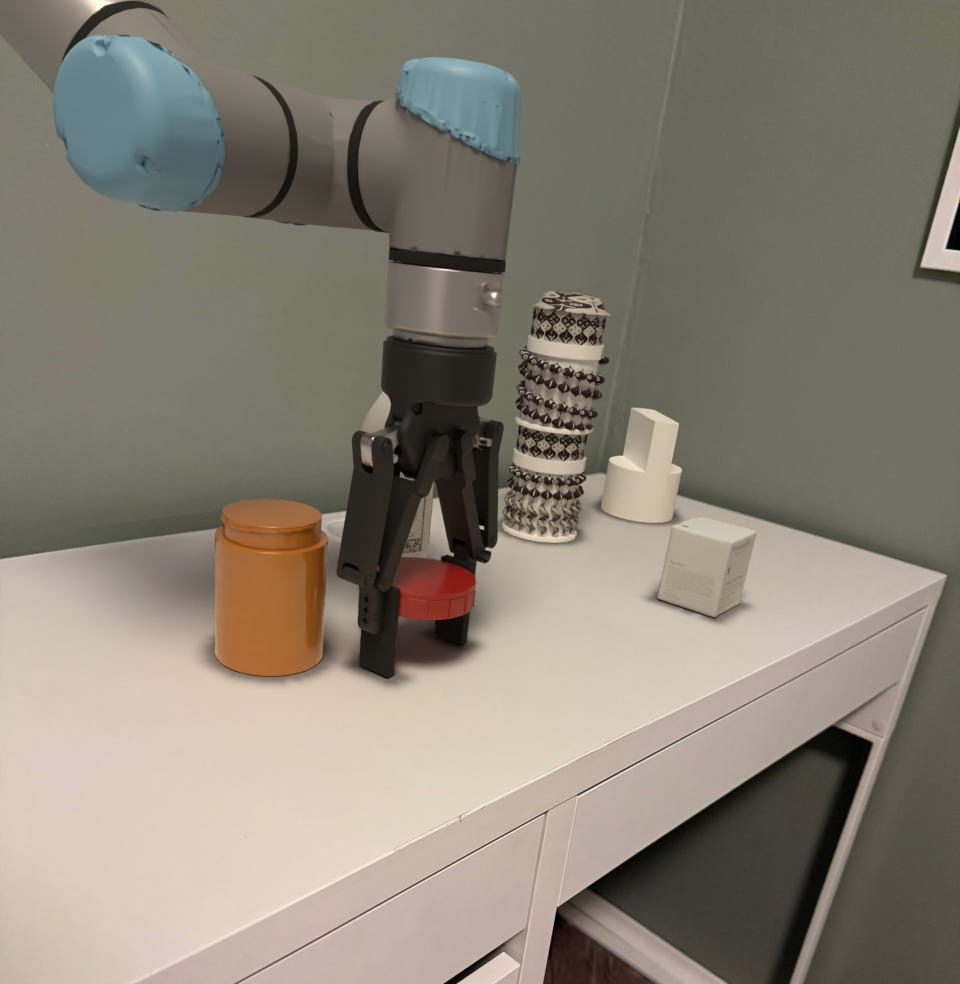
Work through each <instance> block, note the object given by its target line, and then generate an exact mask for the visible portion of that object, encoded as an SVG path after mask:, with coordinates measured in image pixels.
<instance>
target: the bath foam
mask: <svg viewBox="0 0 960 984" xmlns="http://www.w3.org/2000/svg"><path fill="white" fill-rule="evenodd" d="M390 406H391V403H390V399H389V397H388V396H387V395H386V394H385V393H384V392H383V391H382V392H381V394H379V396H378V397H377V399H376V400H375V402H373V404H372V406H371V407H370V409H369V411H368V412H367V414H366V415H365V418H364V420H363V423H362V426H361V430H360V431H364V432H368V433H373V432H376V431H379V430H381V429H384V426H385V422H386V420H387V418H388V415H389V412H390ZM400 477H401V478H405V479H408V480H412V481H413V480H414V479H410V478H407V477H404V475H403V474H402V473H400ZM435 485H436V483H435V481H434V482H433V484H432V487H431V490H430V493H429V495H428V496H426V497H424V498H422V499H421V501H420V504H419V507H418V510H417V513H416V516H415V519H414V521H413V524H412V527H411V530H410V533H409V536H408V539H407V542H406V545H405V548H404V551H403V553H402V556H401V557H418V558H428V552H429V545H430V535H431V524H432V514H433V504H434V494H435Z"/></svg>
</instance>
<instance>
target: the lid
mask: <svg viewBox="0 0 960 984" xmlns="http://www.w3.org/2000/svg"><path fill="white" fill-rule="evenodd" d="M377 570H378V571H379V570H380V568H379V566H377ZM391 586H394V587H397V588H399V589H400V600H399V613H398V618H405V619H410V620H419V621H420V620H421V621H435V620H442V619H450V618H455V617H459V616H462V615H464V614H466V613H468V612H469V611H470V612H471V611H472V609H473V608H475V601H476V593H477V591H476V588H477V587H476V586H477V578H476V575H475V576H474V575H473V574H472V573H471V572H470V571H468V570H466V569H465V568H463V567H460V566H458V565H455V564H452V563H449V562H445V561H441V559H440V560H439V559H436V558H435V559H434V558H430V557H429V558H428V557H427V558H418V557H401V559H400V562H399V565H398V568H397V571H396V574H395V577H394V580H393V583H392V585H391Z"/></svg>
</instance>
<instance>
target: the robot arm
mask: <svg viewBox="0 0 960 984" xmlns="http://www.w3.org/2000/svg"><path fill="white" fill-rule="evenodd" d="M0 37H1V38H3V40H4V41H5V42H6V43H7V44H8V45H9V46H10V48H11V49H12V50H13V51H14V52H15V53H16V54H17V56H18V57H19V58H20V59H21V60H22V61H23V62H24V63H25V64H26V66H27V67H29V69H30V70H31V71H32V72H33V73H34V74H35V75H36V77H38V79H39V80H40V81H41V82H42V83H43V84H44V85H45V86H46V87H47V88H48V90H49V91H50V92H51V93H52V94H53V97H52V98H53V99H52V110H53V112H52V113H53V122H54V127H55V131H56V135H57V138H59V139H60V140H61V141H62V142H63V145H64V148H65V151H66V160H67V162H68V164H69V166H70V168H71V169H72V170H73V172H74V173H75V175H77V177H78V178H79V179H80V180H81V181H82V182H83V183H84V184H85V185H86V186H88V187H89V188H90V189H91V190H92V191H94V192H95V193H97V194H98V195H100V196H102V197H105V198H107V199H110V200H114V201H117V202H123V203H128V204H135V205H137V206H139V207H142V208H144V209H147V210H150V211H156V212H171V213H177V212H186V213H196V214H208V215H220V216H231V217H242V218H247V219H248V218H249V219H258V220H266V221H273V222H275V223H279V224H286V225H288V224H289V225H290V224H291V225H294V226H295V227H296V226H300V227H301V226H310V225H311V226H317V227H318V226H319V227H328V228H338V229H352V230H365V231H374V232H376V233H384V234H388V248H389V249H388V259H387V260H388V261H387V273H386V283H385V284H386V286H385V300H384V315H383V323H384V325H385V326H386V327H387V328H388V329H391V330H392V334H391V335H388V336H386V340H385V339H384V340H383V342H382V357H381V358H382V360H381V375H380V376H381V377H380V388H381V390H382V392H384V393H385V394H386V395H387V396H388V397H389V399H390V403H391V406H390V412H389V415H388V418H387V420H386V422H385V426H384V429H381V430H379V431H376V432H373V433H368V432H364V431H361V430H356V431H355V432H354V433H353V434H352V437H351V451H352V464H353V470H352V474H351V480H350V482H351V483H350V487H349V493H348V499H347V503H346V509H345V510H346V511H345V516H344V523H343V529H342V534H341V541H340V546H339V552H338V558H337V564H336V568H335V569H336V572H335V574H336V577H337V578H338V579H341V580H343V581H345V582H347V583H351V584H354V585H356V586H358V601H357V602H358V604H357V606H358V607H357V608H358V609H357V626H358V629H360V638H359V639H360V641H359V657H358V658H359V659H358V666H360V667H363V668H365V669H367V670H369V671H372V672H374V673H376V674H378V675H381V676H383V677H385V678H389V677H391V676H393V675H395V667H396V654H397V653H396V652H397V641H398V639H397V638H398V626H399V616H398V613H399V600H400V589H399V588H397V587H394V586H391V585H392V583H393V580H394V577H395V574H396V571H397V568H398V565H399V562H400V559H401V556H402V553H403V551H404V548H405V545H406V542H407V539H408V536H409V533H410V530H411V527H412V524H413V521H414V519H415V516H416V513H417V510H418V507H419V504H420V501H421V499H422V498H424V497H426V496H428V495H429V493H430V490H431V487H432V484H433V482H434V481H435V486H436V487H435V488H436V491H437V497H438V501H439V506H440V511H441V515H442V521H443V525H444V530H445V536H446V541H447V545H448V550H449V552H450V553H451V554H452V555H450V554H445V555H441V556H440V560H441V561H445V562H449V563H452V564H455V565H458V566H460V567H463V568H465V569H466V570H468V571H470V572H471V573H472V574H473V575H474V576H475V577H476V574H477V572H476V571H477V563H478V562H479V563H481V564H485V565H486V564H488V563H489V561H490V560H491V558H492V551H491V550H487V548H488V549H494V548H495V547H496V545H497V543H498V539H499V473H500V472H499V469H500V468H499V462H500V461H499V459H500V449H501V445H502V440H503V435H504V429H505V426H504V423H503V422H502V421H499V420H495V419H490V418H487V417H486V418H485V417H481V416H480V414H479V407H482V406H485V405H487V404H489V403H490V402H491V401H492V399H493V395H494V387H495V386H494V385H495V378H496V377H495V376H496V367H497V357H498V353H497V352H496V351H495V347H493V346H491V345H489V340H493V339H495V338H496V337H497V336H498V335H499V332H500V323H501V322H500V321H501V310H502V303H503V302H502V300H503V291H504V290H503V289H504V279H505V273H506V265H507V262H506V261H507V260H506V259H507V251H508V243H509V242H508V240H509V234H510V233H509V232H510V225H511V218H512V211H513V210H512V209H513V202H514V193H515V184H516V177H517V169H518V166H519V165H520V163H521V155H520V153H519V150H520V148H519V147H520V131H521V129H520V128H521V114H522V113H521V112H522V111H521V109H522V91H521V87H520V85H519V83H518V81H517V80H516V79H515V77H514V76H513V75H511V73H509V72H508V71H506V70H504V69H502V68H500V67H497V66H495V65H492V64H487V63H483V62H479V61H474V60H467V59H461V58H454V57H443V56H431V57H430V56H427V57H425V56H424V57H422V58H413V59H409V60H408V61H406V62H405V63H404V64H403V65H402V67H401V69H400V70H399V75H398V76H399V77H398V81H397V82H398V83H397V88H396V90H395V96H394V99H385V100H384V99H383V100H382V99H381V100H370V99H369V100H367V99H352V98H341V97H331V96H330V97H329V96H323V95H318V94H314V93H312V92H308V91H305V90H302V89H297V88H295V87H293V86H292V87H291V86H288V85H285V84H281V83H278V82H275V81H271V80H268V79H264V78H261V77H259V76H256V75H253V74H250V73H246V72H243V71H240V70H236V69H233V68H230V67H226V66H224V65H222V64H221V65H220V64H219V63H216V62H214V61H213V60H212V59H210V58H209V57H207V56H206V55H205V54H204V53H203V52H202V51H201V50H200V49H199V48H198V47H197V46H196V45H195V44H194V43H193V42H192V41H191V39H189V37H188V36H187V35H186V34H185V33H184V32H183V31H182V30H181V29H180V28H179V27H178V26H177V25H176V24H175V23H174V21H172V20H171V19H170V17H169V16H168V15H167V14H166V13H165V12H164V11H163V10H162V8H161V7H160V6H159V5H158V4H157V3H156V2H155V0H0ZM400 473H402V474H403V475H404V477H407V478H410V479H414V480H413V481H412V480H408V479H405V478H401V477H400ZM480 526H481V527H483V529H482V528H481V527H480ZM377 566H379V568H380V570H379V571H378V570H377ZM470 615H471V610H470V611H469V612H468V613H466V614H464V615H462V616H459V617H455V618H450V619H442V620H434V630H433V635H434V636H437V637H440V638H442V639H444V640H446V641H447V640H448V641H450V642H452V643H455V644H457V645H460V646H461V645H464V644H466V643H468V634H469V625H470Z"/></svg>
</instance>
